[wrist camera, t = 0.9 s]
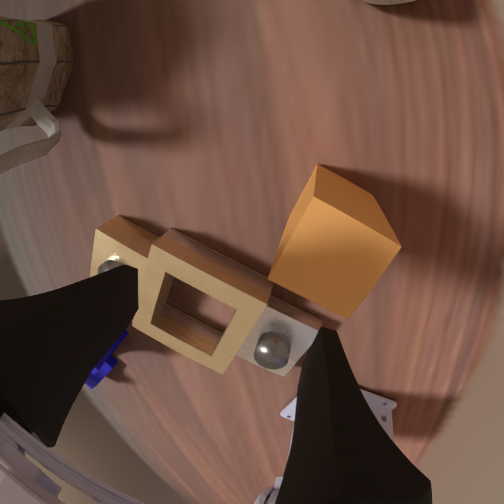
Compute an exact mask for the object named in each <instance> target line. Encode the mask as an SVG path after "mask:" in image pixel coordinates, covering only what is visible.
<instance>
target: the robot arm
mask: <svg viewBox="0 0 504 504" xmlns="http://www.w3.org/2000/svg"><path fill="white" fill-rule="evenodd" d="M138 309H139V305H138V269H137V268H135V267H132V266H129V265H126V264H125V265H121V266H118V267H115V268H113V269H110V270H107V271H105V272H102V273H100V274H97V275H95V276H92V277H90V278H87V279H84V280H82V281H79V282H76V283H73V284H71V285H68V286H65V287H62V288H59V289H56V290H53V291H49V292H46V293H42V294H38V295H33V296H28V297H23V298H17V299H10V300H1V301H0V504H65V503H63V502H62V501H60V500H59V499H58V498H57V496H58V494H59V493H60V491H61V487H60V486H59V485H58V484H56V483H55V482H54V481H52V480H51V479H50V478H49V477H48V476H47V475H45V474H44V473H43V472H42V471H41V470H40V469H39V468H38V467H37V466H36V465H35V464H33V463H32V462H31V461H30V460H29V459H27V458H26V457H25V453H24V451H25V452H26V453H27V454H28V455H30V456H31V457H32V458H33V459H35V460H36V461H37V462H38V463H40V464H41V465H43V466H44V467H45V468H47V469H48V470H49V471H51V472H52V473H54V474H55V475H57V476H58V477H59V478H61V479H62V480H64V481H65V482H67V483H68V484H70V485H71V486H73V487H74V488H76V489H78V490H79V491H81V492H83V493H84V494H86V495H88V496H89V497H91V498H93V499H94V500H96V501H98V502H100V503H102V504H146V503H143V502H141V501H139V500H137V499H135V498H132V497H130V496H128V495H126V494H124V493H122V492H120V491H118V490H116V489H114V488H112V487H110V486H109V485H107V484H105V483H103V482H101V481H99V480H98V479H96V478H94V477H92V476H91V475H89V474H87V473H86V472H84V471H82V470H81V469H79V468H77V467H76V466H74V465H73V464H71V463H69V462H68V461H67V460H65V459H63V458H62V457H60V456H59V455H58V454H56V453H55V452H53V451H52V450H51V449H49V448H48V447H54V446H55V444H56V441H57V439H58V436H59V433H60V431H61V429H62V426H63V424H64V421H65V419H66V417H67V415H68V413H69V411H70V409H71V407H72V404H73V403H74V401H75V399H76V397H77V395H78V394H79V392H80V390H81V388H82V386H83V385H84V383H85V381H86V380H87V378H88V377H89V375H90V373H91V372H92V370H93V369H94V368H95V366H96V365H97V364H98V362H99V361H100V360H101V359H102V357H103V356H104V355H105V354H106V353H107V351H108V350H109V349H110V348H111V346H112V345H113V344H114V343H115V342H116V340H117V339H118V338H119V337H120V336H121V334H122V333H123V332H124V331H125V329H126V328H127V327H128V325H129V324H130V322H131V321H132V319H133V317H134V316H135V314H136V312H137V311H138ZM396 406H397V403H396V402H395V401H393V400H390V399H387V398H384V397H382V396H379V395H376V394H373V393H371V392H368V391H365V390H363V389H360V388H359V385H358V383H357V381H356V379H355V377H354V374H353V372H352V370H351V367H350V365H349V363H348V360H347V358H346V355H345V352H344V350H343V347H342V344H341V342H340V339H339V336H338V334H337V332H336V331H335V330H331V329H328V328H324V327H320V328H319V331H318V333H317V335H316V337H315V339H314V341H313V343H312V346H311V348H310V350H309V352H308V354H307V356H306V358H305V360H304V362H303V365H302V370H301V374H300V379H299V384H298V391H297V397H296V398H295V399H294V400H293V401H292V402H291V403H290V404H289V405H288V406H286V407H285V408H284V409H283V410H282V411H281V414H280V415H281V416H282V417H284V418H287V419H289V420H292V421H294V426H293V432H292V437H291V443H290V448H289V454H288V459H287V464H286V468H285V472H284V475H283V477H277V478H276V482H275V486H270V487H268V488H266V489H265V490H264V491H263V492H262V493H261V494H260V495H259V496H258V498H257V499H256V501H255V503H254V504H432V489H431V482H430V480H429V479H428V478H427V477H426V476H425V475H424V474H423V473H422V472H420V471H419V470H418V469H417V468H416V467H415V466H414V465H413V464H412V463H411V462H410V461H409V460H408V458H407V457H406V456H405V455H404V454H403V453H402V452H401V451H400V450H399V448H398V447H397V446H396V445H395V443H394V433H393V421H392V410H393V409H394V408H395V407H396Z"/></svg>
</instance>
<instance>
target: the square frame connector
mask: <svg viewBox="0 0 504 504" xmlns="http://www.w3.org/2000/svg"><path fill="white" fill-rule="evenodd" d="M125 264H126V265H129V266H132V267H135V268H137V269H138V305H139V309H138V311H137V312H136V314H135V316H134V319H133V324H132V326H133V327H135V328H136V329H138V330H140V331H141V332H143V333H145V334H147V335H148V336H150V337H152V338H154V339H155V340H157V341H159V342H161V343H162V344H164V345H166V346H168V347H170V348H171V349H173V350H175V351H177V352H179V353H181V354H183V355H185V356H186V357H188V358H190V359H192V360H194V361H196V362H198V363H200V364H202V365H204V366H206V367H208V368H210V369H212V370H214V371H216V372H218V373H220V374H223V373H224V372H225V370H226V369H227V367H228V366H229V364H230V363H231V361H232V359H233V358H234V356H235V355H236V356H238V357H240V358H243V359H245V360H247V361H249V362H251V363H253V364H256V365H258V366H260V367H262V368H264V369H267V370H269V371H271V372H273V373H276V374H278V375H280V376H283V377H284V376H285V375H286V374H287V373H288V371H289V370H290V369H291V368H292V367H293V366H294V365H295V363H296V362H297V361H298V360H299V359H300V358H301V356H302V355H303V354H304V353H305V352H306V351H307V349H308V348H309V347H310V346H311V345H312V343H313V341H314V339H315V337H316V335H317V333H318V331H319V328H320V327H322V319H320V318H317V317H315V316H313V315H311V314H309V313H307V312H305V311H303V310H301V309H299V308H297V307H295V306H293V305H291V304H289V303H287V302H285V301H283V300H281V299H279V298H277V297H274V296H272V295H270V294H271V291H272V287H273V284H274V282H272V281H270V280H268V277H267V276H265V275H263V274H261V273H259V272H257V271H255V270H253V269H251V268H249V267H247V266H245V265H243V264H241V263H239V262H237V261H235V260H233V259H231V258H229V257H227V256H225V255H223V254H221V253H219V252H217V251H216V250H214V249H212V248H210V247H208V246H206V245H204V244H202V243H200V242H198V241H196V240H194V239H192V238H190V237H188V236H186V235H185V234H183V233H181V232H179V231H177V230H175V229H173V228H171V229H169V230H168V231H167V232H166V233H164V234H163V235H162V236H161V237H158V236H156V235H154V234H153V233H151V232H149V231H147V230H145V229H143V228H141V227H140V226H138V225H136V224H134V223H132V222H130V221H129V220H127V219H125V218H123V217H121V216H120V215H118V216H116V217H114V218H113V219H111V220H109V221H108V222H106V223H104V224H103V225H101V226H100V227H98V228H96V232H95V239H94V246H93V254H92V263H91V273H90V277H92V276H95V275H97V274H100V273H102V272H105V271H107V270H110V269H113V268H115V267H118V266H121V265H125ZM175 277H176V278H178V279H180V280H181V281H183V282H185V283H187V284H189V285H191V286H193V287H195V288H196V289H198V290H200V291H202V292H204V293H206V294H208V295H210V296H212V297H214V298H216V299H218V300H220V301H222V302H223V303H225V304H227V305H229V306H231V307H233V308H235V311H234V313H233V315H232V317H231V319H230V321H229V322H228V324H227V326H226V328H225V330H224V332H223V333H222V332H220V331H218V330H216V329H215V328H213V327H211V326H209V325H207V324H205V323H203V322H201V321H199V320H197V319H195V318H193V317H191V316H190V315H188V314H186V313H184V312H182V311H180V310H178V309H177V308H175V307H173V306H171V305H169V304H167V303H166V302H167V299H168V296H169V293H170V290H171V287H172V284H173V281H174V278H175Z"/></svg>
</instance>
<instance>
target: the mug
mask: <svg viewBox="0 0 504 504" xmlns="http://www.w3.org/2000/svg"><path fill="white" fill-rule="evenodd" d="M73 65H74V56H73V50H72V44H71V37H70V30H69V25H66V24H62V23H58V22H53V21H49V20H20V19H12V18H5V17H0V131H2V130H5V129H9V128H14V127H18V126H34V125H36V124H38V125H39V126H40V127H41V128H42V129H43V130H44V131H45V132H46V133H47V135H48V138H47V139H44V140H40V141H37V142H33V143H30V144H26V145H23V146H19V147H17V148H15V149H13V150H10V151H8V152H6V153H4V154H2V155H0V174H1V173H3V172H5V171H7V170H9V169H11V168H13V167H15V166H17V165H20V164H23V163H26V162H28V161H31V160H34V159H36V158H39V157H41V156H44V155H46V154H47V153H48V152H49V151H50V150H51V149H52V148H53V147H54V146H55V145H56V144H57V143H58V141H59V140H60V138H61V135H62V134H61V129H60V123H59V121H58V120H57V119H56V118H55V117H54V116H53V115H52V114H51V112H52V111H54V110H55V109H56V108H58V107H59V105H60V102H61V98H62V95H63V92H64V89H65V87H66V84H67V81H68V78H69V75H70V73H71V70H72V67H73Z"/></svg>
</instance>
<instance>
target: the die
mask: <svg viewBox="0 0 504 504" xmlns="http://www.w3.org/2000/svg"><path fill="white" fill-rule="evenodd" d="M362 1H364V2H367V3H370V4H377V5H391V4H401V3H407V2H412V1H416V0H362Z"/></svg>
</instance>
